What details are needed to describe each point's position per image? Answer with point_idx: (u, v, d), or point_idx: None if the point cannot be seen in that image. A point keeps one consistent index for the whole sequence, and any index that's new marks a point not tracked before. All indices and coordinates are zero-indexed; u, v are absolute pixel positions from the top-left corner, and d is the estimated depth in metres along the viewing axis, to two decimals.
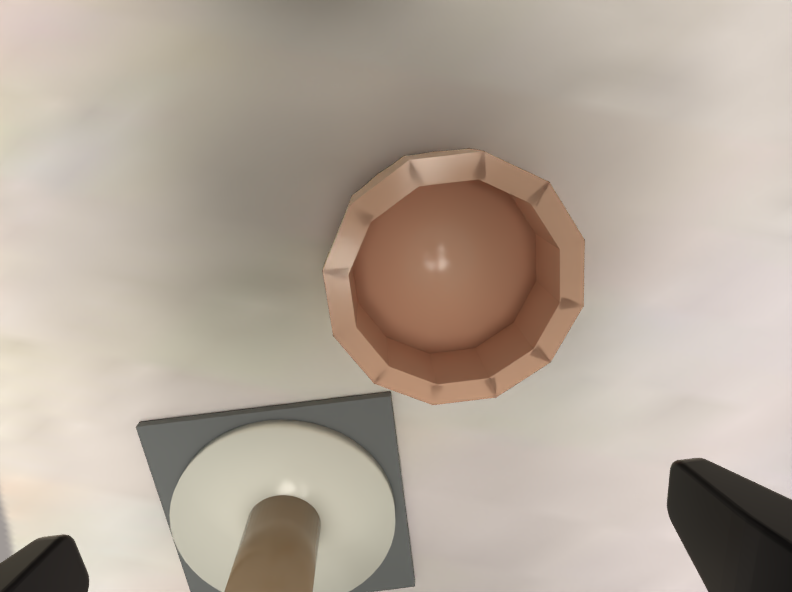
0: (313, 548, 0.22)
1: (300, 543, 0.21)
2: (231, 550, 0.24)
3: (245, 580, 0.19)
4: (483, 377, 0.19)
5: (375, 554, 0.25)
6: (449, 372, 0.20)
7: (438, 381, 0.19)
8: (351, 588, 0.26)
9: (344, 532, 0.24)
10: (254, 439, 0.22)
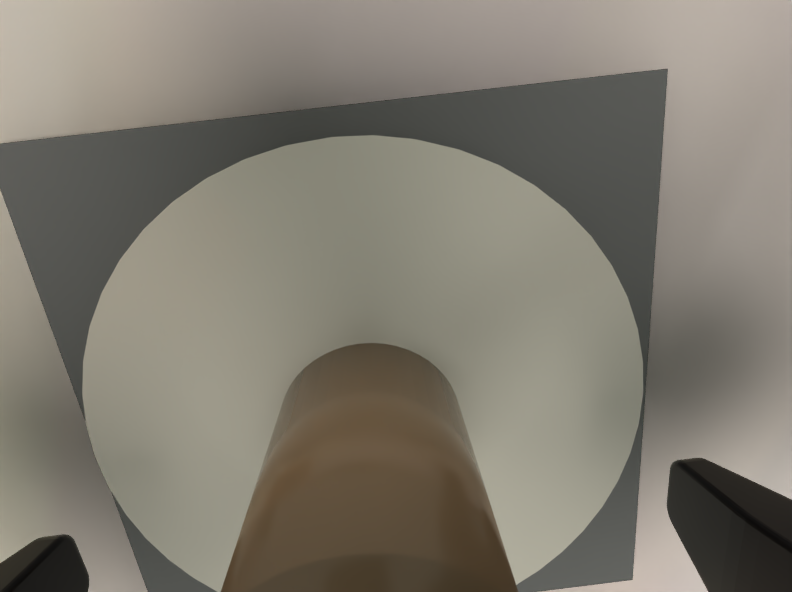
0: (331, 406, 0.07)
1: (277, 452, 0.07)
2: None
3: None
4: None
5: (490, 199, 0.08)
6: None
7: None
8: (608, 269, 0.09)
9: (403, 284, 0.09)
10: (122, 472, 0.10)
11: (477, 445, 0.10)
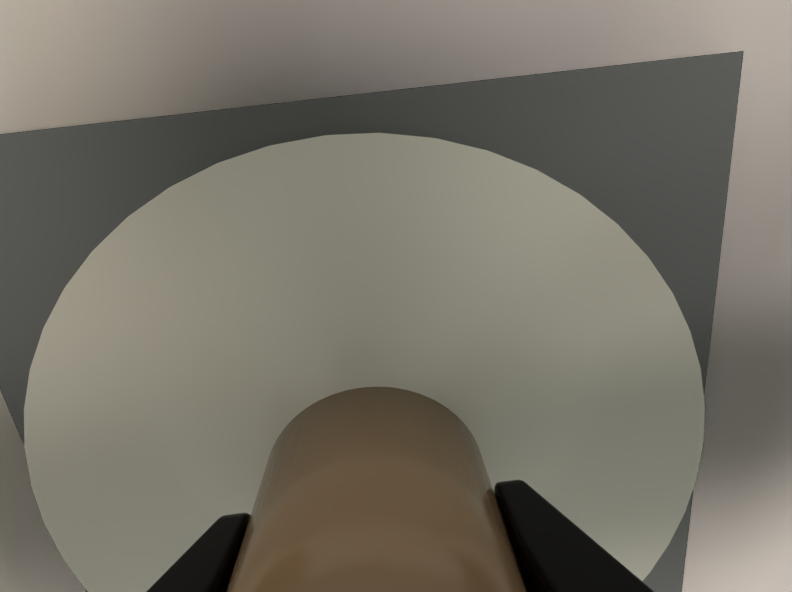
0: (327, 483, 0.06)
1: (255, 549, 0.05)
2: None
3: None
4: None
5: (526, 211, 0.07)
6: None
7: None
8: (667, 298, 0.07)
9: (416, 316, 0.07)
10: (77, 539, 0.08)
11: None
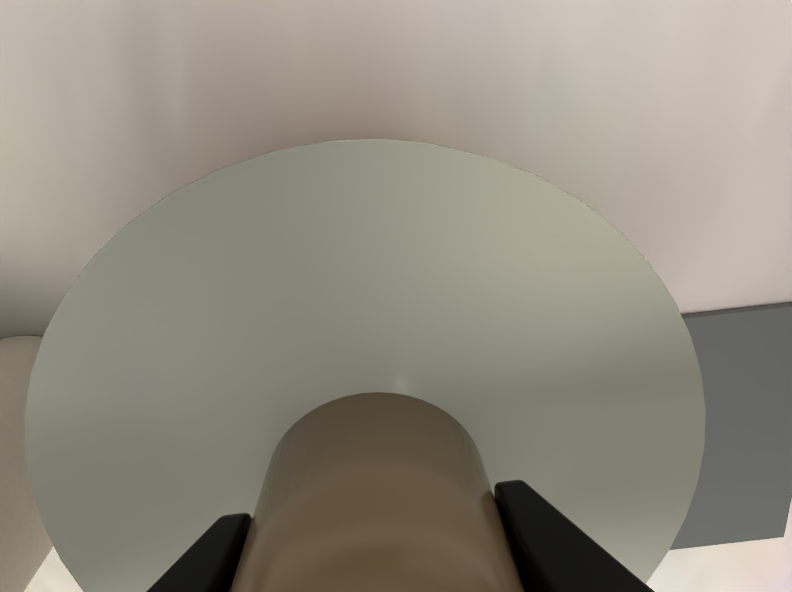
0: (328, 491, 0.06)
1: (256, 557, 0.05)
2: None
3: None
4: None
5: (527, 218, 0.07)
6: None
7: None
8: (668, 303, 0.07)
9: (417, 322, 0.07)
10: (77, 544, 0.08)
11: None
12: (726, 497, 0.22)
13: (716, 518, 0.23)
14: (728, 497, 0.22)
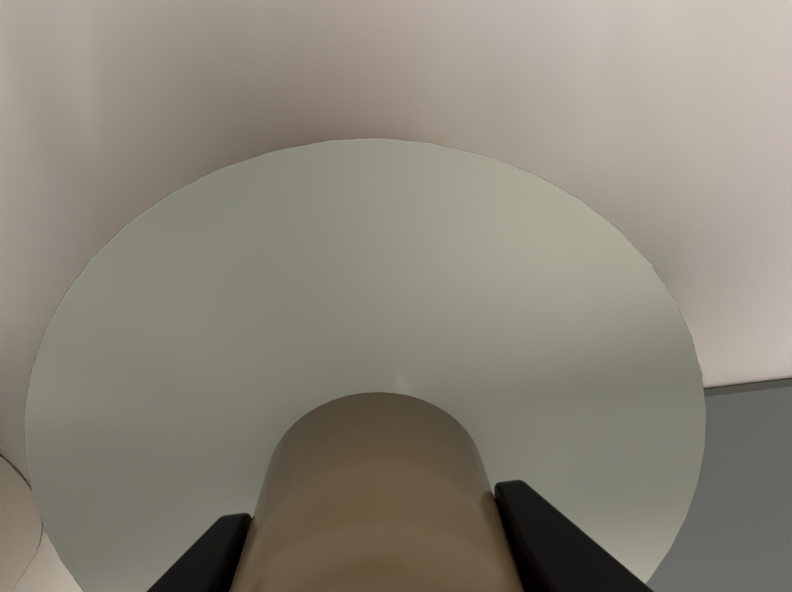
0: (327, 491, 0.06)
1: (255, 557, 0.05)
2: None
3: None
4: None
5: (527, 218, 0.07)
6: None
7: None
8: (668, 303, 0.07)
9: (416, 322, 0.07)
10: (77, 544, 0.08)
11: None
12: None
13: None
14: None
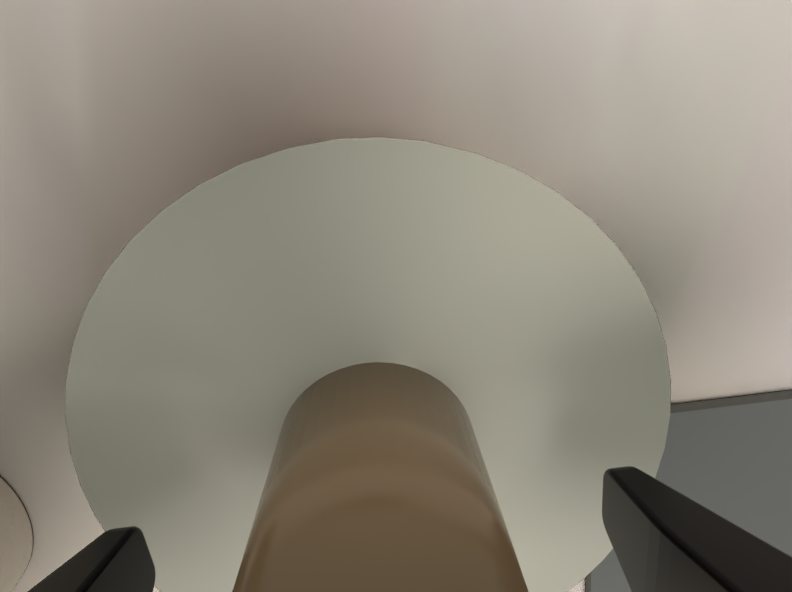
0: (336, 438, 0.07)
1: (276, 491, 0.06)
2: None
3: None
4: None
5: (508, 207, 0.08)
6: None
7: None
8: (635, 283, 0.08)
9: (413, 299, 0.08)
10: (109, 500, 0.09)
11: (491, 470, 0.09)
12: None
13: None
14: None
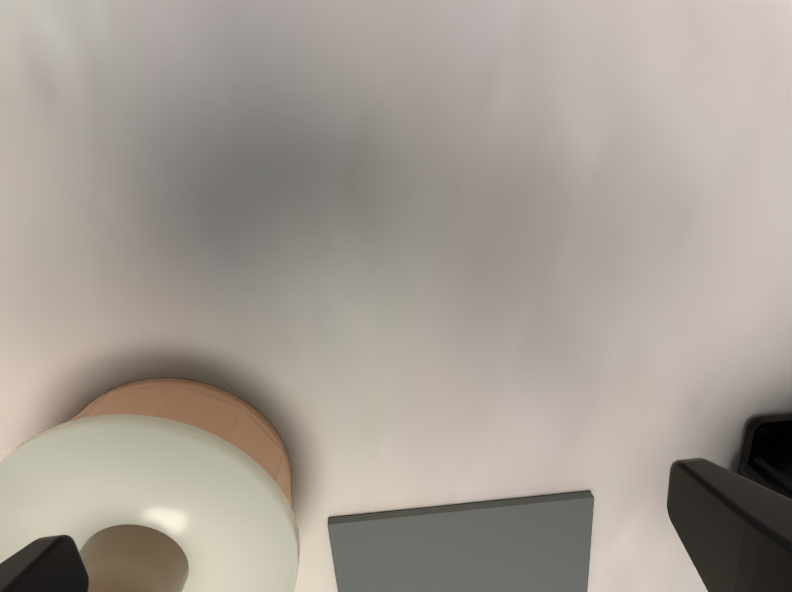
0: None
1: None
2: None
3: None
4: None
5: (184, 456, 0.15)
6: None
7: None
8: (259, 488, 0.16)
9: (142, 496, 0.16)
10: None
11: (201, 576, 0.17)
12: None
13: None
14: None
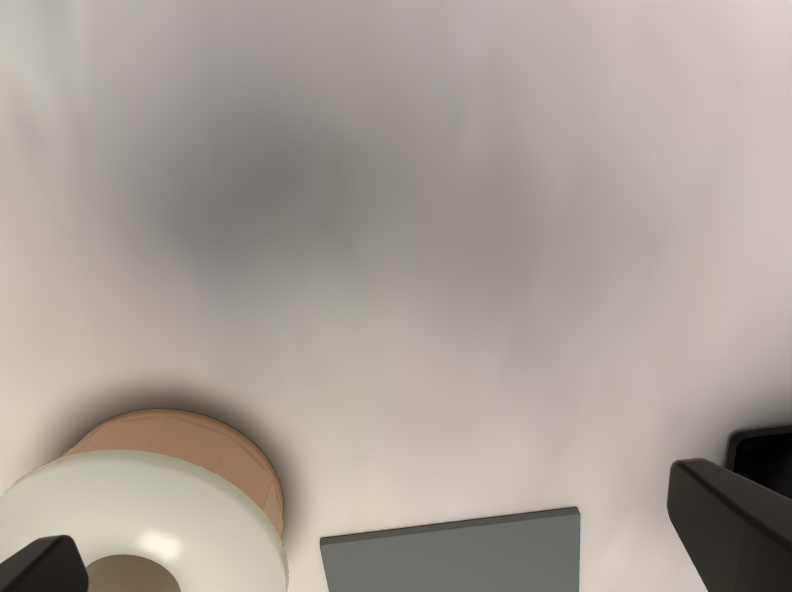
0: None
1: None
2: None
3: None
4: None
5: (171, 489, 0.16)
6: None
7: None
8: (245, 518, 0.17)
9: (133, 527, 0.16)
10: None
11: None
12: None
13: None
14: None
